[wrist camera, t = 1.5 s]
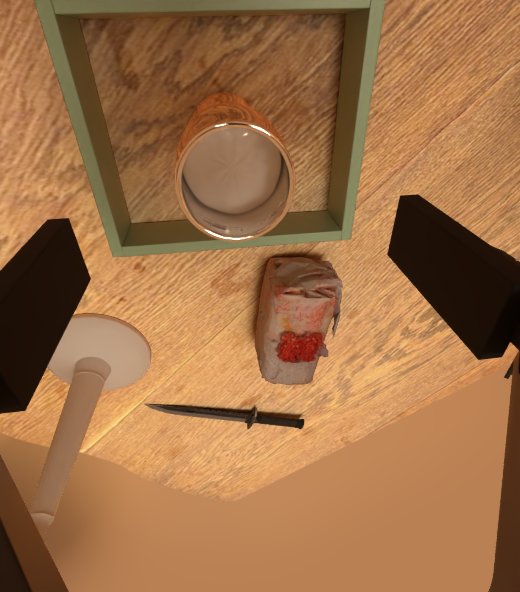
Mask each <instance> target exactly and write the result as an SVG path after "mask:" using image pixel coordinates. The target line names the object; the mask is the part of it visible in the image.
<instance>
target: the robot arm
mask: <svg viewBox="0 0 520 592" xmlns="http://www.w3.org/2000/svg"><path fill="white" fill-rule="evenodd" d="M387 255H388V256H389V257H390V258H391V259H392V261H393V262H394V263H395V264H396V265H397V266H398V268H399V269H400V270H401V271H402V272H403V273H404V274H405V276H406V277H407V278H408V279H409V280H410V281H411V283H412V284H413V285H414V286H415V287H416V288H417V289H418V291H419V292H420V293H421V294H422V295H423V296H424V298H425V299H426V300H427V301H428V302H429V303H430V304H431V306H432V307H433V308H434V309H435V310H436V311H437V313H438V314H439V315H440V316H441V317H442V318H443V319H444V321H445V322H446V323H447V324H448V325H449V326H450V328H451V329H452V330H453V331H454V332H455V333H456V334H457V336H458V337H459V338H460V339H461V340H462V341H463V343H464V344H465V345H466V346H467V347H468V348H469V349H470V351H471V352H472V353H473V354H474V355H475V356H476V358H477V359H478V360H481V359H490V358H499V357H502V356H503V354H504V352H505V350H506V349H507V347H508V345H509V343H510V342H511V343H512V344H513V345H514V346H515V347H516V348H517V349H518V350H519V352H518V353H517V355H516V357H515V359H514V360H513V362H512V364H511V366H510V368H509V369H508V371H507V373H506V375H505V377H504V378H507V379H508V378H509V377H510V375H512V385H511V395H510V406H509V417H508V427H507V438H506V448H505V458H504V469H503V480H502V490H501V500H500V511H499V522H498V531H497V542H496V553H495V563H494V573H493V579H492V583H491V587H490V589H489V591H488V592H520V262H519V261H516V259H515V258H513V257H512V256H510V255H509V254H507V253H506V252H504V251H502V250H500V249H497V248H495V247H493V246H491V245H489V244H488V243H486V242H485V241H483V240H482V239H481V238H479V237H478V236H476V235H475V234H473V233H472V232H471V231H469V230H468V229H466V228H465V227H463V226H462V225H461V224H459V223H458V222H456V221H455V220H453V219H452V218H451V217H449V216H448V215H446V214H445V213H444V212H442V211H441V210H439V209H438V208H436V207H435V206H434V205H432V204H431V203H429V202H428V201H426V200H425V199H424V198H422V197H421V196H419V195H404V196H400V199H399V203H398V208H397V213H396V217H395V222H394V227H393V231H392V236H391V241H390V245H389V250H388V254H387ZM90 280H91V278H90V275H89V273H88V270H87V267H86V264H85V262H84V259H83V256H82V253H81V251H80V248H79V245H78V242H77V240H76V237H75V234H74V231H73V229H72V226H71V223H70V220H69V218H64V219H49V220H47V221H46V222H45V223H44V224H43V225H42V226H41V227H40V228H39V229H38V231H37V232H36V233H35V234H34V235H33V236H32V237H31V238H30V239H29V240H28V241H27V243H26V244H25V245H24V246H23V247H22V248H21V249H20V250H19V251H18V252H17V253H16V254H15V256H14V257H13V258H12V259H11V260H10V261H9V262H8V263H7V264H6V265H5V266H4V268H3V269H2V270H1V271H0V414H1V413H10V412H19V411H25V410H26V408H27V406H28V404H29V402H30V400H31V398H32V396H33V394H34V392H35V390H36V388H37V386H38V384H39V382H40V380H41V378H42V376H43V374H44V372H45V370H46V368H47V366H48V364H49V362H50V360H51V358H52V356H53V354H54V352H55V350H56V348H57V346H58V344H59V342H60V340H61V338H62V336H63V334H64V332H65V330H66V328H67V326H68V324H69V322H70V320H71V318H72V316H73V314H74V312H75V310H76V308H77V306H78V304H79V302H80V300H81V298H82V296H83V294H84V292H85V290H86V288H87V286H88V284H89V282H90ZM0 592H69V591H68V589H67V587H66V585H65V583H64V581H63V579H62V577H61V575H60V573H59V572H58V569H57V567H56V566H55V563H54V561H53V559H52V557H51V555H50V553H49V551H48V549H47V547H46V545H45V543H44V541H43V539H42V537H41V535H40V533H39V531H38V529H37V527H36V525H35V523H34V521H33V519H32V517H31V515H30V513H29V511H28V509H27V507H26V505H25V503H24V501H23V499H22V497H21V495H20V493H19V491H18V489H17V487H16V485H15V483H14V481H13V479H12V477H11V475H10V473H9V471H8V469H7V467H6V465H5V463H4V461H3V459H2V457H1V455H0Z"/></svg>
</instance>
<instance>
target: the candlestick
mask: <svg viewBox="0 0 520 592" xmlns="http://www.w3.org/2000/svg"><path fill="white" fill-rule="evenodd" d="M150 362H151V350H150V346H149V344H148V342H147V340H146V339H145V337H144V336H143V335H142V334H141V333H140V332H139V331H138V330H137V329H136V328H134V327H133V326H131V325H130V324H128V323H126V322H124V321H122V320H119V319H117V318H114V317H110V316H106V315H100V314H78V315H73V316H72V318H71V320H70V322H69V324H68V326H67V328H66V330H65V332H64V334H63V336H62V338H61V340H60V342H59V344H58V346H57V348H56V350H55V352H54V354H53V356H52V358H51V360H50V362H49V364H48V366H47V367H48V369H49V370H50V371H51V372H52V373H53V374H54V375H56V376H57V377H58V378H60V379H61V380H63V381H64V382H66V383H68V384H70V388H69V391H68V395H67V398H66V401H65V404H64V407H63V410H62V413H61V416H60V419H59V422H58V425H57V428H56V431H55V434H54V437H53V440H52V443H51V446H50V449H49V452H48V455H47V458H46V461H45V464H44V467H43V470H42V473H41V476H40V479H39V483H38V486H37V489H36V492H35V495H34V498H33V501H32V504H31V507H30V510H29V513H30V515H31V517H32V519H33V521H34V523H35V525H36V527H37V529H38V531H39V533H40V535H41V537H42V539H43V541H44V543H45V540H46V531H47V529H48V527H49V525H50V524H51V523H52V522H53V521H54V516H55V513H56V510H57V508H58V505H59V502H60V500H61V497H62V495H63V492H64V489H65V487H66V484H67V481H68V479H69V476H70V473H71V471H72V468H73V465H74V463H75V460H76V458H77V455H78V452H79V450H80V447H81V444H82V442H83V439H84V436H85V434H86V431H87V428H88V426H89V423H90V420H91V418H92V415H93V413H94V410H95V407H96V405H97V402H98V399H99V397H100V394H101V392H102V391H110V390H117V389H121V388H124V387H127V386H130V385H132V384H134V383H135V382H137V381H138V380H140V379H141V378H142V377H143V376H144V375H145V373H146V372H147V370H148V368H149V366H150ZM45 545H46V544H45ZM46 547H47V545H46ZM47 549H48V547H47Z"/></svg>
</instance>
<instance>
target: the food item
mask: <svg viewBox="0 0 520 592" xmlns="http://www.w3.org/2000/svg"><path fill="white" fill-rule="evenodd" d="M341 287H342V288H343V286H342V281H341V280H340V279H339V278H338V276H337V273H336V271H335V270H333V267H332V264H331V263H330V262H329V261H320V260H314V259H309V258H305V257H294V258H286V257H279V258H270V259H269V261H268V263H267V267H266V271H265V274H264V279H263V284H262V290H261V296H260V302H259V313H258V319H257V327H256V335H255V348H256V352H257V356H258V357H257V359H258V361H259V362H258V363H259V367H260V371H261V374H262V378H265V380H266V381H269V382H270V383H273V384H276V383H280V384H286V385H294V384H298V385H299V384H308V383H311V382H312V380H313V375H314V372H315V369H316V366H317V363H318V360H319V356H323V357H328V350H327V349H326V345H325V344H323V343H324V341H325V336H326V334H327V331H328V327H329V324H330V322H331V319H332V318H333V317H334V316H335V317H334V322H335V323H334V326H333V328H332V330H333V337H334V335H335V331H336V328H337V325H338V321H339V318H340V303H341V297H342V293H341ZM324 347H325V348H324ZM326 355H327V356H326Z"/></svg>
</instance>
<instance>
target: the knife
mask: <svg viewBox="0 0 520 592" xmlns="http://www.w3.org/2000/svg"><path fill="white" fill-rule="evenodd" d="M145 405H146V406H148V407H150V408H152V409H155V410H158V411H161V412H165V413H169V414H175V415H183V416H192V417H201V418H211V419H220V420H229V421H239V422H245V423H248V424H247V429H249V428H250V427H251V426H252V424H253V423H260V424H269V425H278V426H288V427H295V428H299V429H302V428H303V426H304V419H288V418H279V417H271V416H259V415H257V408H256V407H255V408H254V409H253V410H252V413H251V414H248V413H246V414H244V413H238V412H234V413H233V412H230V411H229V412H227V411H221V410H217V411H215V410H213V409H212V410H209V409H203V408H200V409H198V408H192V407H178V406H164V405H149V404H145Z"/></svg>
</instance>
